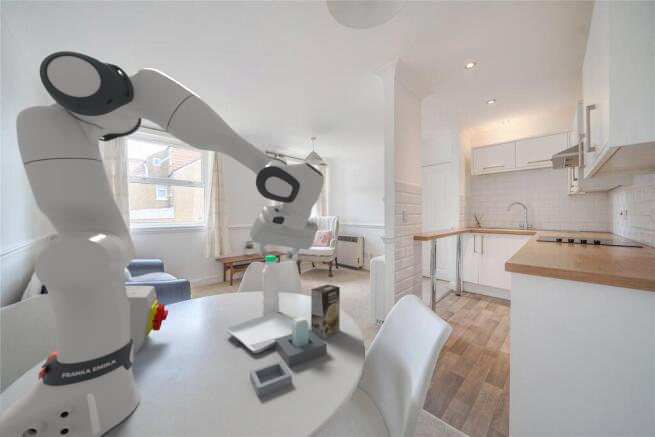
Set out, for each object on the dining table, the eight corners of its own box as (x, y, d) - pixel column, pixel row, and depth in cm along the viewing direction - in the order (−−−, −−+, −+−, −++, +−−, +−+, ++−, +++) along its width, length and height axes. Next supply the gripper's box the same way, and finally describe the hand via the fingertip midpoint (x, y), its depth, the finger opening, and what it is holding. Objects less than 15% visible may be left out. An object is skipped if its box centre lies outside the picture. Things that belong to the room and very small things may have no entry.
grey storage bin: (258, 401, 53) (258, 388, 53) (250, 382, 59) (249, 370, 59) (291, 387, 58) (291, 375, 58) (280, 371, 64) (280, 360, 64)
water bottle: (261, 311, 106) (261, 255, 106) (277, 308, 109) (276, 254, 109) (264, 317, 99) (264, 257, 99) (280, 314, 102) (280, 256, 102)
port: (289, 371, 64) (289, 354, 64) (275, 351, 73) (275, 337, 73) (326, 357, 70) (326, 341, 70) (309, 341, 80) (309, 327, 80)
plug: (296, 359, 69) (296, 322, 69) (292, 354, 72) (291, 318, 72) (308, 355, 72) (308, 319, 72) (303, 350, 74) (303, 316, 74)
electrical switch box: (157, 357, 74) (168, 293, 76) (94, 364, 67) (107, 293, 69) (164, 337, 87) (173, 282, 89) (112, 340, 80) (123, 281, 82)
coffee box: (324, 339, 80) (324, 292, 80) (310, 334, 84) (310, 289, 84) (340, 330, 88) (340, 286, 88) (326, 325, 92) (326, 283, 92)
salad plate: (224, 337, 83) (224, 327, 83) (275, 318, 99) (275, 310, 99) (253, 362, 69) (253, 350, 69) (309, 336, 84) (309, 326, 84)
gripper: (315, 219, 79) (299, 254, 82) (258, 205, 66) (241, 247, 70) (324, 228, 74) (307, 264, 78) (264, 215, 61) (246, 259, 65)
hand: (275, 256), depth 73 cm, fingers open, 8 cm apart
